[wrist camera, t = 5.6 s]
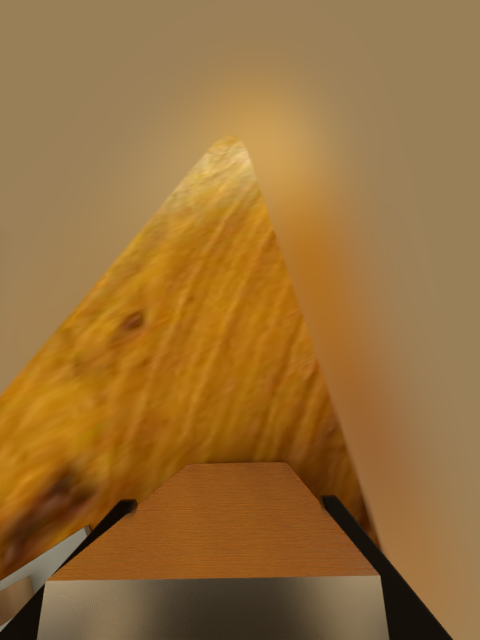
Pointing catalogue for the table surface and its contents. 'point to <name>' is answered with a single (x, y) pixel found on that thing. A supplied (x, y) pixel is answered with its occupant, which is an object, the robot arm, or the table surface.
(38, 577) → the slate board
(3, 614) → the board walls
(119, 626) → the bracket
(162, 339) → the table surface
